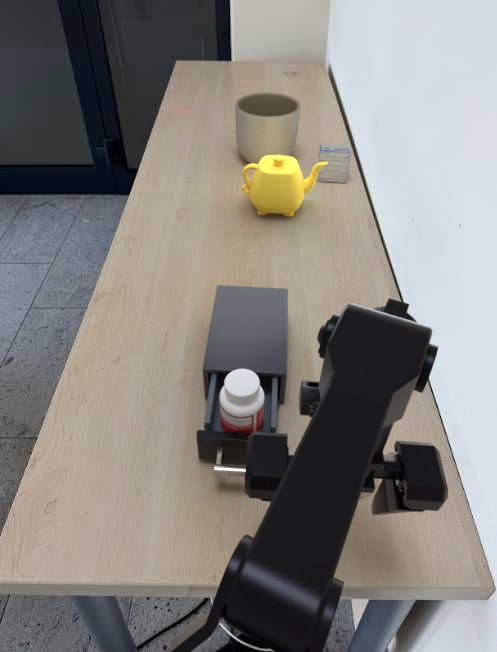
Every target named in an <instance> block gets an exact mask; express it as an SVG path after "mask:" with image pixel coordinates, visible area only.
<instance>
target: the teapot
mask: <svg viewBox="0 0 497 652" xmlns="http://www.w3.org/2000/svg"><path fill="white" fill-rule="evenodd" d="M328 163H329V162H320V163H318V162H317V163H316V164H315V165H313V167H312V169H311V172H310V174H309V176H308V177H307V178H304V177H303V173H302V170H301V168H300V167H301V166H300V164H299V162H298V160H297V159H296V158H295V157H293V156H292V155H291V156H283V155H267V156H264V157H263V158H262V159H261V160H260V162H259V163H258V164H254V163H252V164H251V163H248V164H247V165H245V166H244V168H243V170H242V176H243V180H244V184H242V186H241V192H242V194H244V195H246V196H247V195H249V198H250V201H251V203H252V205H253V206H254V208H255V209H256V210H257V214H258V215H260V216H266V215H268V214H283V216H285V217H293V216H294V215H295V214H294V213H295V212H296V211H297V210H298V209H299V207H300V206H301V204H302V203H303V201H304V198H305V195H307V194H309V192H311V191H312V190H313V188H314V187H315V185H316V182H317V175H318V172H319V171H320V169H321V168H322V167H323V166H325V165H327V164H328ZM250 169H254V172H253V174H252V177H251V180H250V179H249V175H248V171H249V170H250ZM246 188H247V189H246Z"/></svg>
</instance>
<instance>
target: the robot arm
mask: <svg viewBox="0 0 497 652" xmlns="http://www.w3.org/2000/svg"><path fill="white" fill-rule="evenodd" d="M409 307H410V303H407V302H404V301H400V300H397V299H393V298H390V297H388V298H387V301H386V303H385V306H377V307H374V308H371V307H367V306H364V305H361V304H357V303H354V302H349V303H347V304H346V305H345V306H344V307H343V309H342V311H341V313H340V314H338V313H336V312H334V313H333V314H332V315H331V317H330V318H328V319H327V320H326V322H325V323H323V324H322V325H321V326H320V328H319V330H318V333H317V337H316V341H317V343H318V345H319V347H318V349H317V353H318V357H319V358H320V359H323V362H322V367H321V372H320V376H319V381H318V380H305V379H302V380H301V382H300V387H299V397H298V409H299V415H300V416H304V417H305V416H306V417H309V418H310V420H309V423H308V424H307V426H306V428H305V430H304V433H303V434H302V437H301V439H300V441H299V443H298V445H297V447H296V449H295V451H294V454H289V453H290V451H289V449H290V448H289V445H288V439H289V437H288V433H284V432H283V433H282V432H276V433H269V432H253V433H252V434H251V435H250V436H249V437H248V443H247V456H246V463H245V466H246V469H245V477H244V487H243V488H244V494H245V495H246V496H247V497H248V498H249V499H256V500H257V499H259V500H260V501H261V502H268V503H269V505H268V507H267V509H266V511H265V514H264V515H263V517H262V520H261V522H260V524H259V526H258V528H257V530H256V532H255V535H254V536H251V535H249V534H244V535H243V536H242V538H241V539H240V540H239V542H238V543H237V544H236V545H237V546H235V549H234V550H233V552H232V554H231V556H230V559H229V560H228V562H227V565H226V567H225V570H224V572H223V574H222V577H221V580H220V582H219V585H218V588H217V590H216V593H215V596H214V599H213V602H212V604H211V607H210V608H209V609H208V610H207V611H206V612H205V613H203V614H202V615H201V616H200V617H198V618H197V619H196V620H195V621H193V622H192V623H191V624H190V625H189V626H187V627H186V628H185V629H184V630H182V632H180V634H179V635H178V636H177V638H175V639H174V641H173V642H172V643H171V644H170V645H169V647H168V648H167V649H166V650H165V651H164V652H193V651H194V650H195V649H196V648H198V647H199V646H201V644H202V643H204V642H205V641H207V640H208V639H209V638H210V637H212V635H213V634H214V632H215V631H216V630H217V628H218V627H219V625H220V624H221V623H222V622H223V621H224V624H225V625H226V626H229V627H230V628H232V629H234V630H236V631H238V632H240V633H241V634H243V635H244V636H246V637H248V638H249V639H252V640H253V641H255V642H256V643H257V642H258V643H259V644H261V645H262V646H264V647H266V648H268V649H270V650H271V651H273V652H324V650H325V647H326V643H327V641H328V637H329V634H330V631H331V629H332V626H333V622H334V619H335V616H336V612H337V609H338V608H339V603H340V600H341V596H342V592H343V588H344V584H345V581H344V580H341V579H339V578H337V577H335V574H336V571H337V568H338V566H339V562H340V559H341V556H342V553H343V549H344V547H345V543H346V540H347V537H348V534H349V531H350V528H351V526H352V523H353V519H354V516H355V513H356V510H357V506H358V503H359V501H360V498H361V494H362V493H364V494H365V493H366V494H374V492H375V494H374V496H373V498H372V502H371V515H372V516H383V515H391V514H404V513H405V514H406V513H424V512H425V511H429V512H430V511H431V512H432V511H433V512H438V511H439V510H440V509H441V508H442V507H443V506H444V505H445V503H446V501H447V500H448V498H449V486H448V483H447V478H446V473H445V470H444V466H443V461H442V458H441V453H440V451H439V449H438V448H437V447H436V445H434V444H432V443H431V442H427V441H426V442H425V441H412V440H411V441H409V440H406V441H405V440H395V443H394V445H393V449H394V452H395V453H394V452H388V453H384V450H385V447H386V445H387V442H388V439H389V437H390V434H391V431H392V429H393V427H394V424H395V423H396V422H398V421H400V420H402V419H403V418H404V415H405V413H406V410H407V409H408V405H409V403H410V400H411V398H412V395H413V393H414V391H415V392H418V393H421V394H423V392H424V391H425V388H426V386H427V383H428V381H429V378H430V376H431V373H432V370H433V367H434V365H435V361H436V359H437V355H438V352H439V351H438V350H439V345H437V344H433V343H431V339H432V336H433V329H432V327H431V326H428V325H426V324H423V323H420V322H418V321H417V320H416V319H415V318H414V317H413V316H412V314H409V313H408V310H409ZM375 479H377V480H381V482H380V484H379V485H378V488H377V489H376V484H375ZM375 490H376V491H375Z"/></svg>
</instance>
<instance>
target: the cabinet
mask: <svg viewBox="0 0 497 652" xmlns="http://www.w3.org/2000/svg"><path fill="white" fill-rule="evenodd" d="M211 312H212V313H211V319H210V324H209V330H208V336H207V341H206V347H205V353H204V359H203V364H202V378H203V391H204V400H206V401H208V394H209V388H210V381H211V375H212V373H223V374H229V373H230V372H232V371H234V370H236V369H248V370H251V371H253V372H254V373H255V374H256V375H258V376H275V377H278V389H277V405H284V404H285V397H286V386H287V377H288V331H289V329H288V327H289V326H288V325H289V324H288V323H289V322H288V321H289V320H288V317H289V316H288V315H289V313H288V312H289V289H288V288H281V287H264V286H263V287H262V286H242V285H227V284H226V285H225V284H221V285H220V284H216V290H215V296H214V302H213V308H212V311H211Z"/></svg>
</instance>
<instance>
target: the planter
mask: <svg viewBox="0 0 497 652" xmlns="http://www.w3.org/2000/svg"><path fill="white" fill-rule="evenodd" d="M234 105H235V106H234V108H235V109H234V110H235V111H234V112H235V114H234V115H235V132H236V133H235V135H236V137H235V138H236V146H237V150H238V152H239V154H240V155H241V157H242V158H243V159H244V160H245V161H246V162H248V164H252V163H254V164H258V163H259V162H260V160H261V159H262V158H263V157H264V156H267V155H283V156H291V157H292V155H293V153H294V152H295V148H296V145H297V139H298V131H299V122H300V113H301V104H300V102H299V100H297V98H294V97H293V96H290V95H287V94H284V93H278V92H265V91H264V92H254V93H249V94H245V95H243V96H241V97H239V98H238V99H237V100H236V101H235V104H234Z"/></svg>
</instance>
